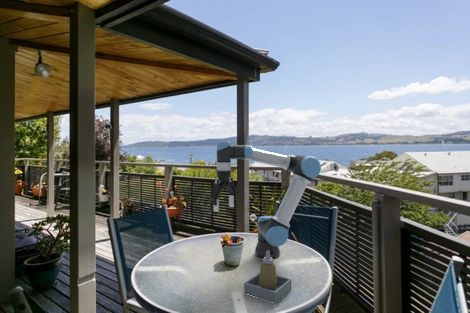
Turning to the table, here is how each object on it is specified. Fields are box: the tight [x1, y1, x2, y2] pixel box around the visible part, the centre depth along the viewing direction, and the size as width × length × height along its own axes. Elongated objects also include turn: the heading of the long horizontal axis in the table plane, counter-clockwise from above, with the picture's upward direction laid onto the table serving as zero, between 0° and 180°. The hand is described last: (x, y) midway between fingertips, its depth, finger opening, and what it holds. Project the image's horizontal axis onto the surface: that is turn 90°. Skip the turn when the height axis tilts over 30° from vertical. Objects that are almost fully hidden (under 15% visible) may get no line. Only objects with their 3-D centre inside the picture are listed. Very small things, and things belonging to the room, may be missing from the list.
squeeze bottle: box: [259, 251, 277, 291], centre depth 140 cm, size 8×8×18 cm
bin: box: [243, 272, 292, 304], centre depth 141 cm, size 16×16×5 cm
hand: (224, 209), depth 169 cm, fingers open, 13 cm apart
